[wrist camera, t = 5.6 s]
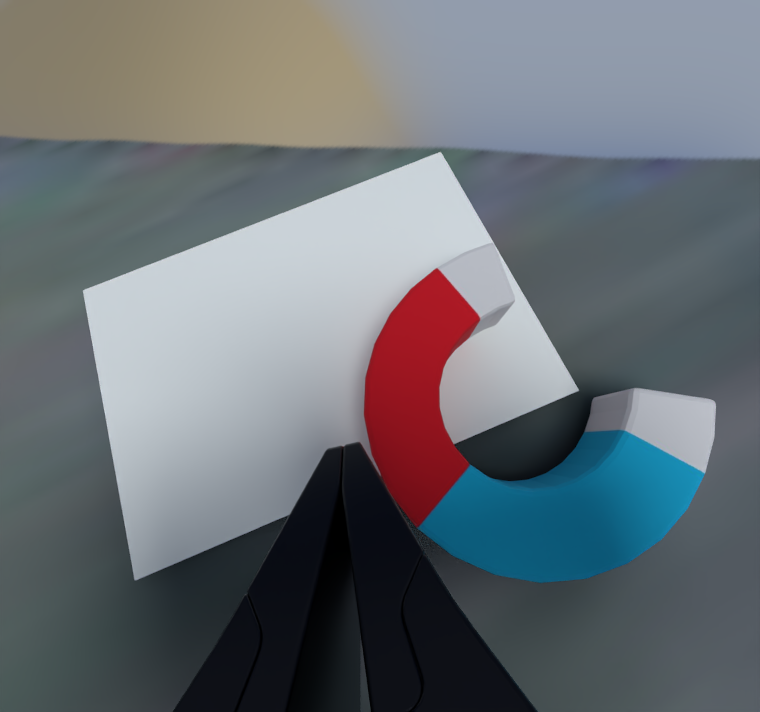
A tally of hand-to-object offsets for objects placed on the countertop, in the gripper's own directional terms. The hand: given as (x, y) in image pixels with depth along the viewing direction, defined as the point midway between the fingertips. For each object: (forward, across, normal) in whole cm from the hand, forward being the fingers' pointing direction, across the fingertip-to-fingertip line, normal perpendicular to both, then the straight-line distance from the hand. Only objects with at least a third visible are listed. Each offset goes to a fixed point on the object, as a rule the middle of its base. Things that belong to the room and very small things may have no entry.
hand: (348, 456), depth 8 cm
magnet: (+1, -1, +5) cm, 6 cm away
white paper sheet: (+9, +2, +1) cm, 9 cm away
